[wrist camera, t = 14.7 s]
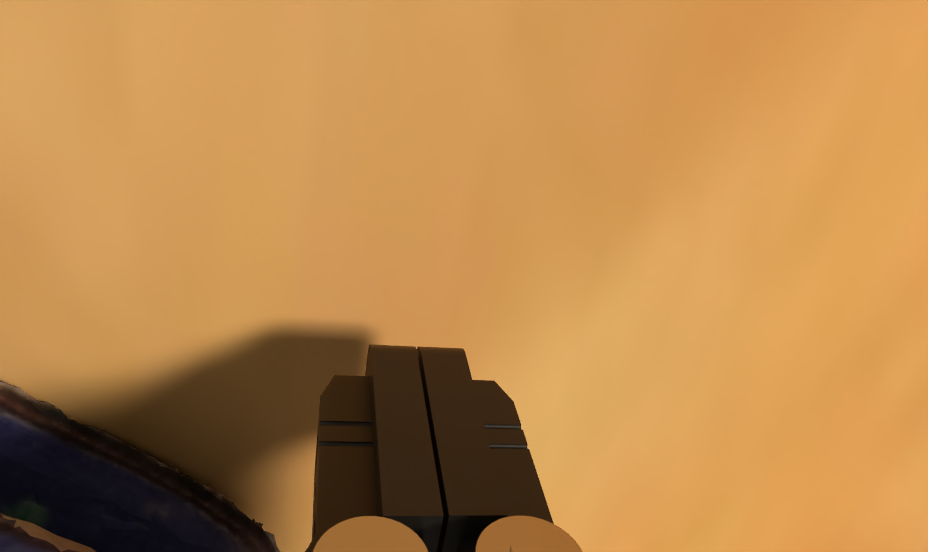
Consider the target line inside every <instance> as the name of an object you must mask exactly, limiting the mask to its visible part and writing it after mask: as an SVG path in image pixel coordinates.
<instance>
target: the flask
mask: <svg viewBox="0 0 928 552" xmlns="http://www.w3.org/2000/svg"><path fill="white" fill-rule="evenodd" d="M180 474H181V473H180V472H179V471H178V470H177V468H176V470H174V469H173V468H172V467H171V466H170V467H167V465H166V464H165V463H161V462H159V461H157V460H156V459H155V458H154V456H150V455H148V454H146V453H142V452H141V451H139V450H138V449H134V448H133V447H131V446H130V445H129V444H124V443H123V442H122V441H120V440H118V439H116V438H114V437H112V436H111V435H109V434H108V433H106V432H105V431H99V430H97V429H95V428H94V427H92V428H90V427H88V426H87V425H82V426H81V425H80V424H79V423H77V422H76V421H74V420H69V419H68V418H67V417H66V416H65V414H64V413H63V412H62V411H61V410H59V409H56V407H55V406H53V405H51V404H49V403H46V402H39V401H38V400H36V399H34V398H33V397H31V396H29V395H28V394H26V393H25V392H23V391H22V390H21V389H20V388H19V387H15V386H12V385H10V384H8V383H4V382H0V552H280V551H279V550H278V548H277V546H276V542H275V538H274V535H273V534H271V533H269V532H266V531H263V529H262V527H261V526H262V525H263V524H261V523H258V522H255V520H254V519H253V520H252V521H251V520H250V519H249V518H248V517H247V516H246V515H245V514H243V513H242V512H241V511H239V510H238V509H237V508H236V506H235V505H234V504H233V502H231V501H228V499H227V498H226V495H223V494H221V493H219V492H218V491H216V490H215V489H213V488H211V487H207V486H206V485H200V484H198V483H195V482H194V481H193V480H192V479H191V478H190V477H189V476H188V475H186V476H182V475H180Z"/></svg>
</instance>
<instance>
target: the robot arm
mask: <svg viewBox="0 0 928 552" xmlns="http://www.w3.org/2000/svg"><path fill="white" fill-rule="evenodd" d="M305 552H582V550H581V548H580V547H579V545H578V544H577V543H576V541H575V540H574V539H573V538H572V537H571V536H570V535H569V534H568V533H566V532H565V531H564V530H562V529H561V528H560V527H558V526H556V525H554V523H553V521H552V518H551V515H550V512H549V508H548V505H547V502H546V499H545V496H544V493H543V490H542V487H541V484H540V481H539V478H538V475H537V472H536V469H535V466H534V463H533V460H532V457H531V454H530V450H529V449H527V441H526V438H525V435H524V432H523V430H521V423H520V420H519V417H518V414H517V411H516V408H515V405H514V402H513V401H512V399H511V398H510V397H509V396H508V395H507V394H506V393H505V392H504V391H503V390H502V389H501V388H500V386H499V385H498V384H497V383H496V382H495V381H486V380H472V377H471V373H470V369H469V366H468V362H467V358H466V354H465V351H464V349H460V348H437V347H417V349H416V347H411V346H388V345H369V348H368V354H367V363H366V372H365V376H338V375H335V376H334V377H333V379H332V380H331V382H330V383H329V385H328V386H327V387H326V389H325V390H324V392H323V393H322V395H321V396H320V408H319V421H318V434H317V447H316V459H315V474H314V502H313V528H312V542H311V543H310V545H309V547H308V548H307V550H306V551H305Z"/></svg>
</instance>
